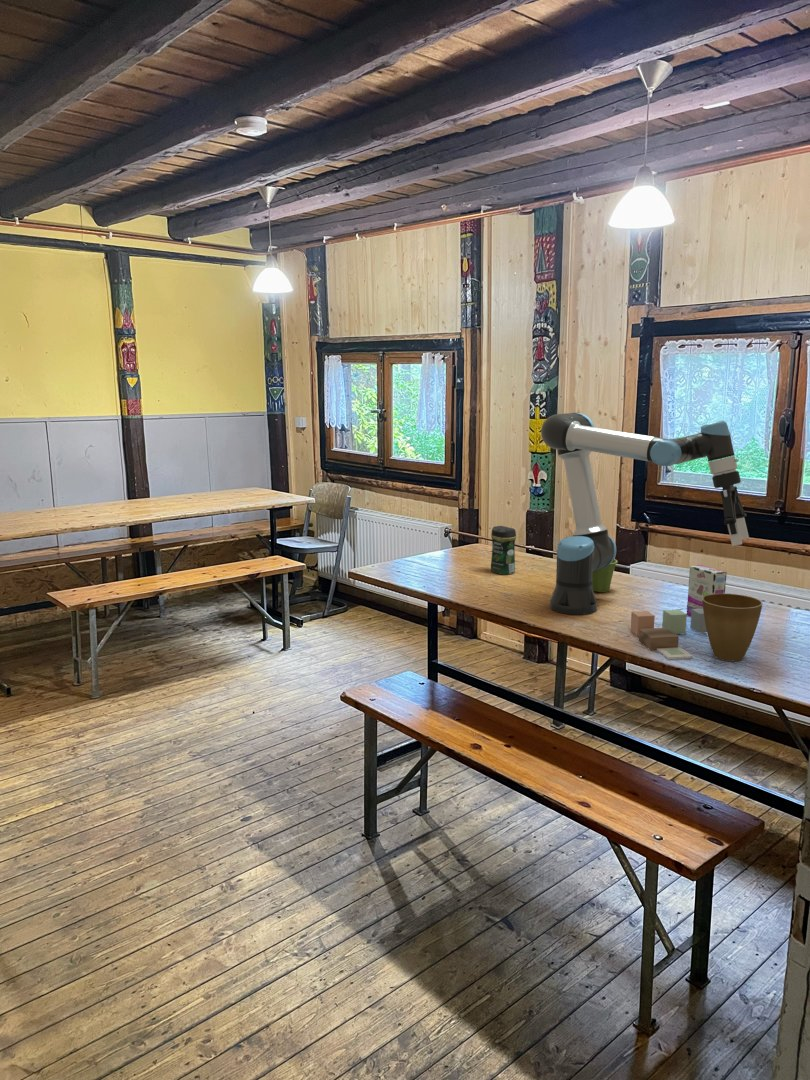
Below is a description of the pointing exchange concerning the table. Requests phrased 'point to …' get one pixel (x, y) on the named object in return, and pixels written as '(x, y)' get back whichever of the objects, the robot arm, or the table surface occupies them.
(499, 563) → the coffee jar
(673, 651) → the tile
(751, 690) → the table surface
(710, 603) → the plant pot
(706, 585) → the candy bar box
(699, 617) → the slate block
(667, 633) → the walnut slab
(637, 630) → the terracotta block
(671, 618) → the sage block
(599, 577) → the plant pot
